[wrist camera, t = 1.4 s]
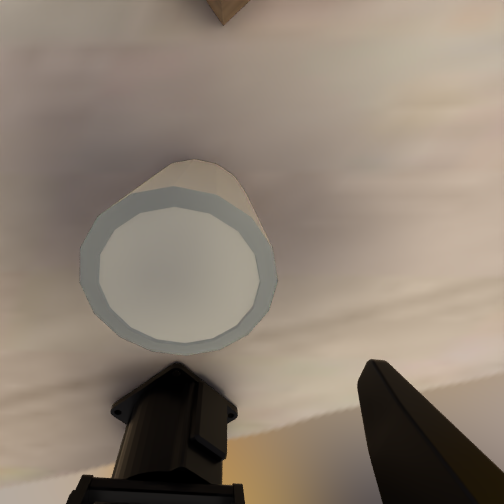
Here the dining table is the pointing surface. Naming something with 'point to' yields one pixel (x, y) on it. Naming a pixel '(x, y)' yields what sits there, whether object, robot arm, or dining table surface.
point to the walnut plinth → (226, 8)
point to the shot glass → (180, 262)
